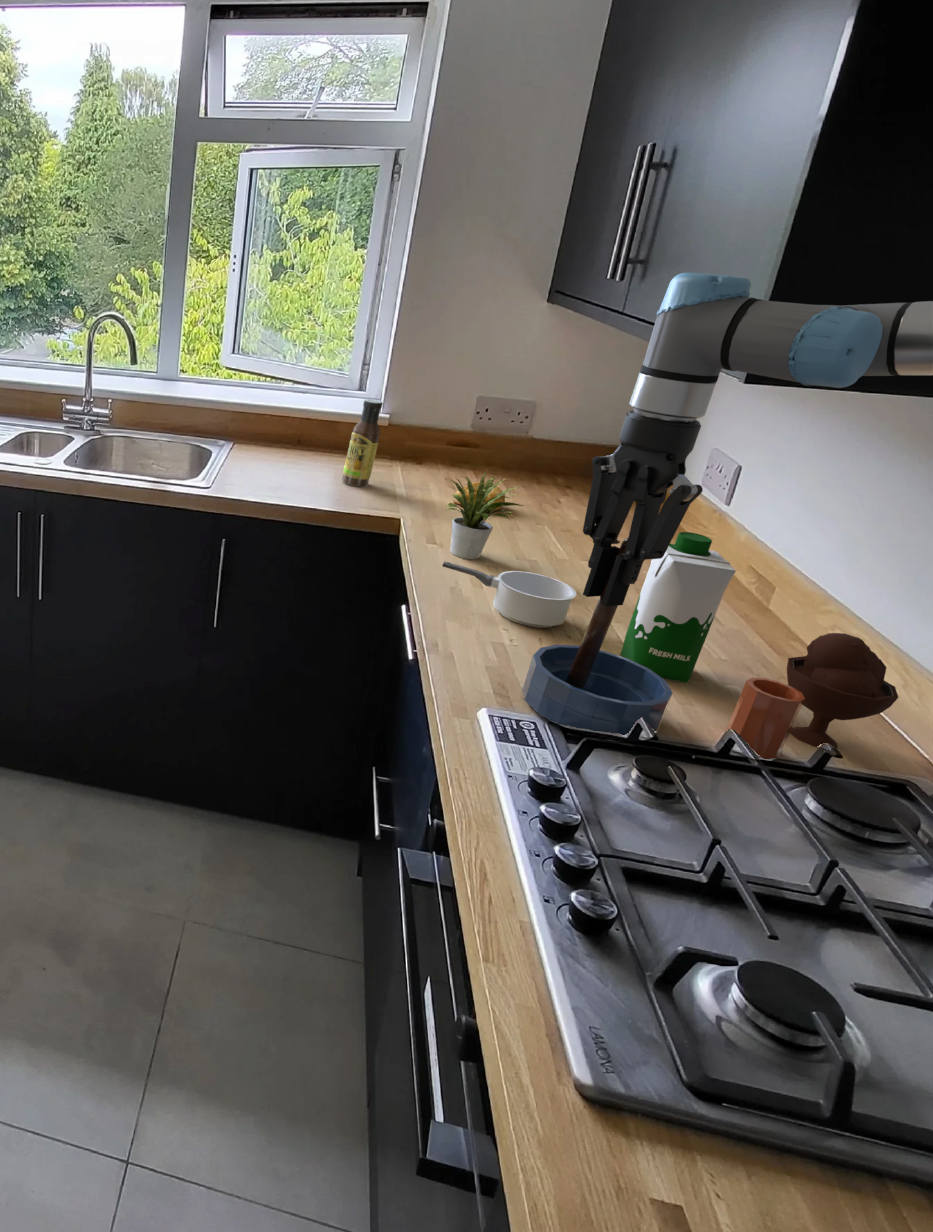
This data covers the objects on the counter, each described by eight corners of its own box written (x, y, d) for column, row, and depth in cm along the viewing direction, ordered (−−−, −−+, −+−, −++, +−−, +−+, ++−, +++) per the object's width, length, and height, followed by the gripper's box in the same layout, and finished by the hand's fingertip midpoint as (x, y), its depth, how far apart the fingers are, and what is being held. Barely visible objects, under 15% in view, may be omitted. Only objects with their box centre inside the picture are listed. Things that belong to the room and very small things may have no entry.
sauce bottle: (335, 480, 212) (352, 397, 204) (355, 479, 214) (372, 396, 207) (354, 488, 206) (372, 403, 199) (374, 487, 209) (393, 402, 201)
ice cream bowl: (851, 776, 107) (906, 666, 101) (745, 731, 115) (790, 627, 109) (878, 751, 113) (931, 646, 107) (775, 710, 121) (819, 610, 115)
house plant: (448, 569, 162) (470, 483, 155) (407, 542, 174) (426, 461, 168) (516, 569, 165) (541, 484, 158) (471, 542, 177) (493, 462, 171)
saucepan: (442, 582, 156) (450, 552, 154) (569, 614, 146) (579, 583, 144) (429, 603, 147) (436, 571, 144) (562, 638, 137) (573, 606, 135)
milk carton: (676, 662, 132) (725, 536, 125) (696, 690, 124) (749, 558, 117) (611, 650, 135) (655, 526, 127) (627, 677, 127) (675, 546, 119)
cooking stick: (582, 700, 116) (649, 541, 108) (567, 698, 116) (632, 539, 108) (573, 692, 118) (637, 535, 110) (557, 690, 118) (621, 533, 110)
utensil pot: (786, 766, 108) (816, 702, 104) (743, 764, 107) (771, 700, 104) (752, 740, 113) (779, 678, 109) (710, 738, 112) (736, 676, 109)
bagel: (444, 496, 206) (449, 476, 204) (492, 500, 206) (497, 480, 204) (460, 510, 197) (465, 489, 195) (510, 514, 196) (515, 493, 195)
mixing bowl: (684, 749, 110) (701, 707, 107) (563, 744, 109) (577, 702, 106) (607, 685, 124) (621, 647, 122) (500, 681, 123) (511, 642, 121)
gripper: (751, 430, 97) (678, 624, 106) (633, 400, 110) (577, 574, 120) (701, 431, 95) (631, 628, 104) (586, 399, 108) (533, 577, 117)
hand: (602, 599), depth 112 cm, fingers closed on cooking stick, 2 cm apart
